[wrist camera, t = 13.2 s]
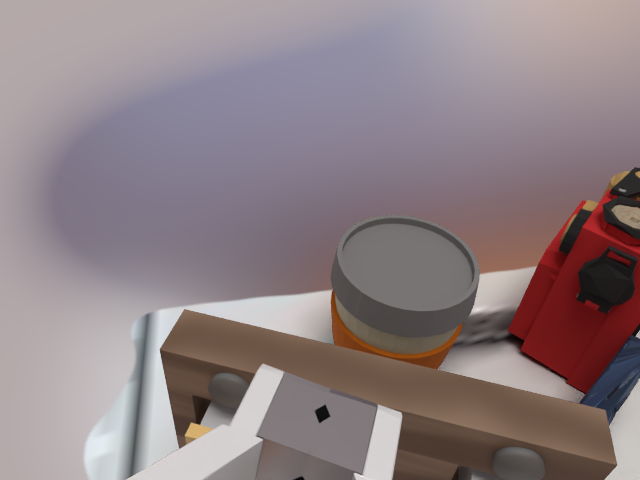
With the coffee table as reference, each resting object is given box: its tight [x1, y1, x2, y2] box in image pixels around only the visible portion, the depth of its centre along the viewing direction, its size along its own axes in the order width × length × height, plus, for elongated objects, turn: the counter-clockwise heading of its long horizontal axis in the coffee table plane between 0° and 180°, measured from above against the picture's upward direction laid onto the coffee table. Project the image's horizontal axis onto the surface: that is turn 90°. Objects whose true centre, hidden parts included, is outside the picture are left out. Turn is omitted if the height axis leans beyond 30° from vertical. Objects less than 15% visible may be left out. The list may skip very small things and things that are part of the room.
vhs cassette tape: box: [579, 335, 640, 425], centre depth 43 cm, size 18×3×10 cm, turn 133°
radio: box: [508, 167, 640, 394], centre depth 52 cm, size 16×10×20 cm, turn 141°
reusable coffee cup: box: [331, 215, 480, 370], centre depth 48 cm, size 13×13×15 cm
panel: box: [160, 309, 617, 480], centre depth 34 cm, size 6×23×21 cm, turn 76°
